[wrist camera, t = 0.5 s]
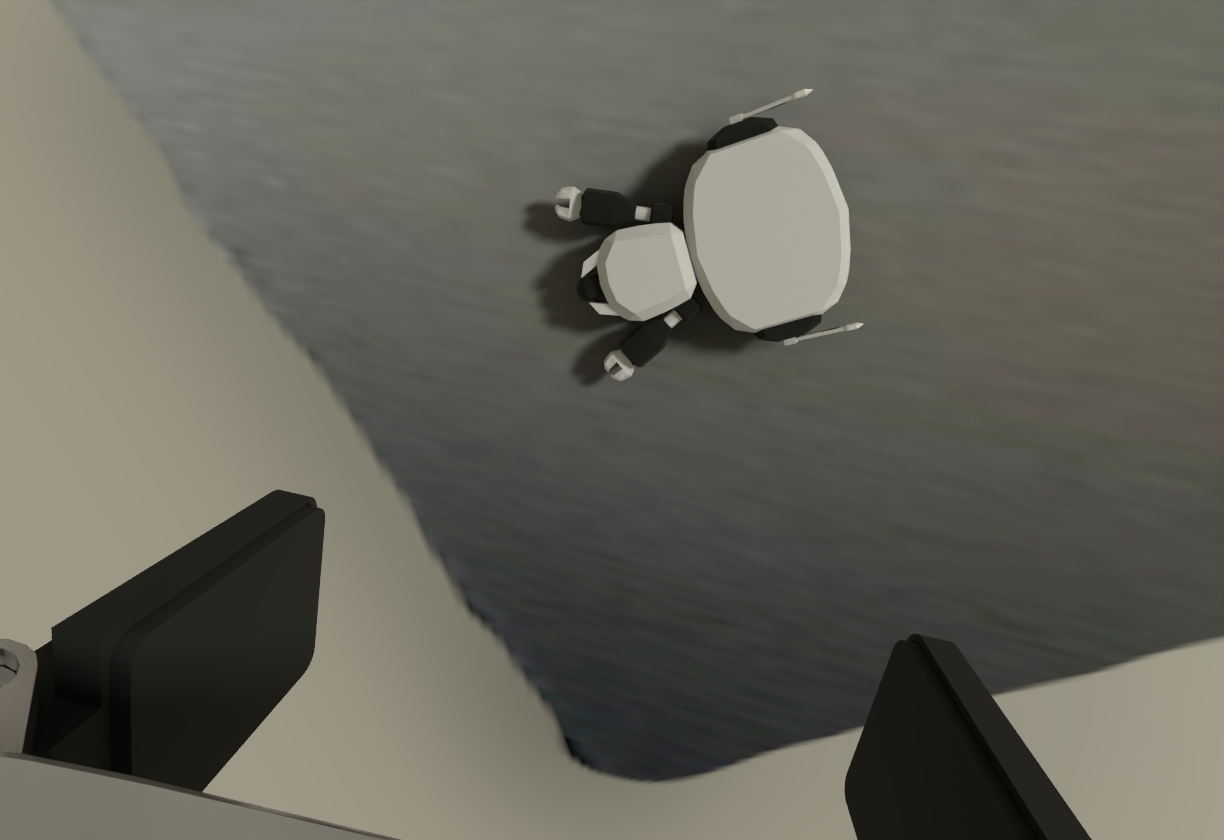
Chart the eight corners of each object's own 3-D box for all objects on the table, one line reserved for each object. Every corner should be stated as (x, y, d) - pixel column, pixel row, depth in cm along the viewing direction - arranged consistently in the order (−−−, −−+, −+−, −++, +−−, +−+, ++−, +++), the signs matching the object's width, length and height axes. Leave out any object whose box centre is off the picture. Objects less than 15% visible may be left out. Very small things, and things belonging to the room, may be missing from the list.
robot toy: (616, 381, 42) (859, 315, 38) (604, 399, 37) (876, 326, 34) (556, 187, 39) (811, 97, 35) (535, 182, 35) (823, 78, 31)
